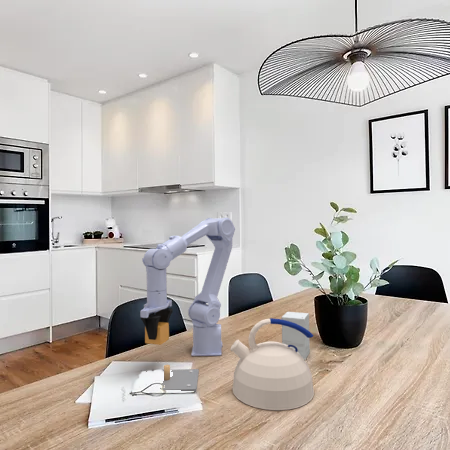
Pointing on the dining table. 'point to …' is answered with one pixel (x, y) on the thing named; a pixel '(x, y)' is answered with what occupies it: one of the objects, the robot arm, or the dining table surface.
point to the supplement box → (296, 332)
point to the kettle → (272, 372)
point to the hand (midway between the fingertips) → (157, 336)
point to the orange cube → (159, 334)
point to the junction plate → (180, 379)
